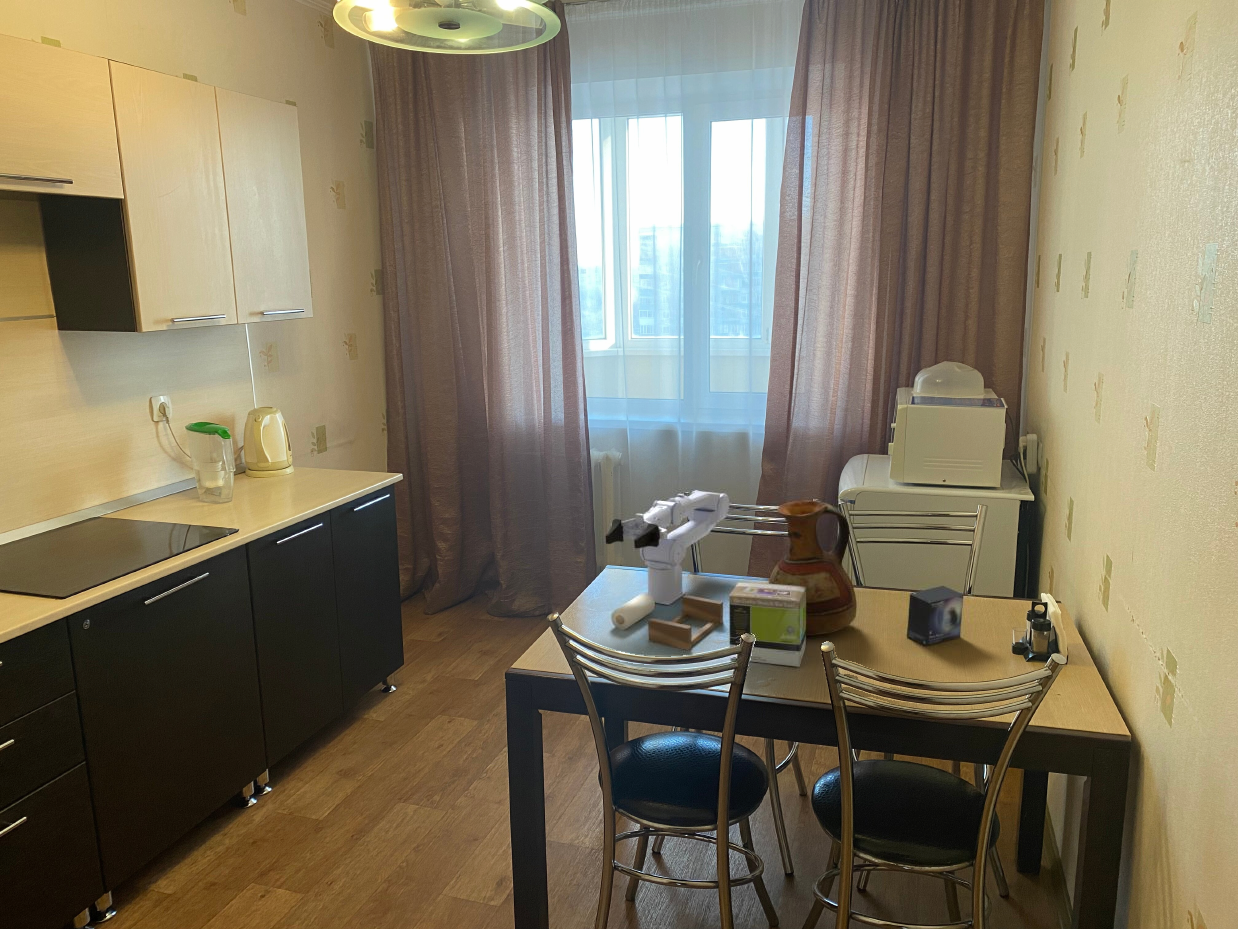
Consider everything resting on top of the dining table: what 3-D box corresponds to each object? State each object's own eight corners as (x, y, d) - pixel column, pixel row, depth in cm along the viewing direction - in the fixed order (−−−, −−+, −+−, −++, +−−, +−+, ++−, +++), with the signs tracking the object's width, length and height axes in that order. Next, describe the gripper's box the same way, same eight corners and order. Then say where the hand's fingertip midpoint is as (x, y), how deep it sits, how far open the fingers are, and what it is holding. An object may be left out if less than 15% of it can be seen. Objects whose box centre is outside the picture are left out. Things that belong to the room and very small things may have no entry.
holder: (685, 614, 217) (684, 594, 216) (722, 622, 212) (723, 601, 211) (648, 641, 202) (648, 620, 201) (688, 650, 197) (688, 628, 196)
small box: (927, 647, 196) (930, 602, 193) (905, 637, 201) (907, 593, 199) (962, 638, 200) (965, 593, 198) (939, 628, 206) (942, 584, 204)
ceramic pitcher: (754, 615, 216) (756, 494, 209) (832, 607, 220) (836, 488, 213) (786, 648, 197) (788, 516, 190) (871, 638, 201) (876, 509, 194)
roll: (637, 611, 221) (636, 591, 220) (655, 613, 218) (654, 594, 217) (611, 628, 210) (610, 608, 209) (629, 631, 208) (628, 611, 207)
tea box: (806, 649, 196) (807, 585, 193) (799, 669, 187) (801, 601, 184) (737, 641, 201) (738, 578, 198) (728, 660, 192) (728, 594, 189)
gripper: (622, 505, 221) (593, 521, 210) (675, 511, 214) (647, 529, 203) (624, 532, 223) (595, 550, 212) (676, 539, 216) (649, 558, 204)
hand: (621, 542), depth 207 cm, fingers open, 7 cm apart
